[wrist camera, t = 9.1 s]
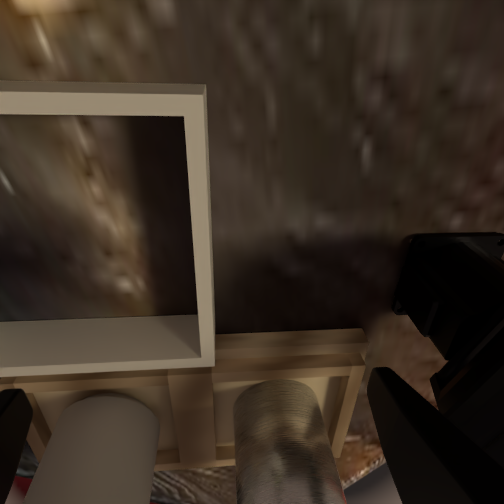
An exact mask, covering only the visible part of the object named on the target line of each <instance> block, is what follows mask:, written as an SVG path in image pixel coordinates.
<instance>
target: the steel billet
mask: <svg viewBox="0 0 504 504" xmlns="http://www.w3.org/2000/svg"><path fill="white" fill-rule="evenodd" d="M233 423H234V448H235V472H236V496H237V504H347V503H346V499H345V496H344V492H343V488H342V485H341V481H340V478H339V474H338V471H337V467H336V463H335V460H334V456H333V453H332V449H331V446H330V442H329V438H328V435H327V431H326V428H325V424H324V420H323V417H322V413H321V410H320V406H319V403H318V399H317V396H316V394H315V392H314V391H313V390H312V389H311V388H310V387H309V386H307V385H306V384H304V383H301V382H298V381H295V380H288V379H276V380H269V381H264V382H261V383H258V384H255V385H253V386H251V387H250V388H248V389H246V390H245V391H244V392H242V393H241V394H240V395H239V397H238V398H237V399H236V401H235V403H234V406H233Z"/></svg>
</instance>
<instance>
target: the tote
mask: <svg viewBox="0 0 504 504" xmlns="http://www.w3.org/2000/svg"><path fill="white" fill-rule="evenodd" d="M0 114H40V115H129V116H184V123H185V137H186V151H187V165H188V179H189V193H190V207H191V221H192V235H193V248H194V262H195V276H196V290H197V304H198V315H172V316H145V317H118V318H91V319H64V320H38V321H11V322H0V377H13V376H33V375H53V374H73V373H93V372H113V371H132V370H152V369H172V368H192V367H212V366H215V303H214V278H213V252H212V227H211V201H210V176H209V150H208V124H207V99H206V84H168V83H116V82H63V81H11V80H0Z"/></svg>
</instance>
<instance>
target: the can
mask: <svg viewBox="0 0 504 504" xmlns="http://www.w3.org/2000/svg"><path fill="white" fill-rule="evenodd" d="M159 435H160V424H159V420H158V418H157V417H156V416H155V414H154V413H153V412H152V411H151V410H150V409H149V408H148V407H147V406H146V405H145V404H144V403H142V402H141V401H139V400H138V399H136V398H133V397H130V396H127V395H124V394H116V393H104V394H96V395H93V396H90V397H87V398H85V399H84V400H81V401H78V402H75V403H73V404H72V405H70V406H69V407H67V408H66V409H64V411H63V412H62V414H61V415H60V417H59V419H58V421H57V423H56V426H55V428H54V430H53V433H52V435H51V438H50V440H49V442H48V445H47V447H46V449H45V452H44V454H43V457H42V459H41V461H40V464H39V466H38V468H37V471H36V473H35V475H34V478H33V480H32V483H31V485H30V487H29V490H28V492H27V494H26V497H25V499H24V502H23V504H149V502H150V495H151V489H152V482H153V475H154V468H155V462H156V455H157V448H158V441H159Z"/></svg>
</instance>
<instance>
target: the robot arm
mask: <svg viewBox="0 0 504 504" xmlns="http://www.w3.org/2000/svg"><path fill="white" fill-rule="evenodd" d="M420 241H422V243H420V244H418V243H419V242H420ZM498 241H499V242H498ZM503 253H504V234H503V233H474V234H421V235H417V236H415V237H414V238H413V239H412V241H411V244H410V247H409V251H408V254H407V257H406V261H405V264H404V266H403V267H402V270H401V274H400V277H399V280H398V284H397V287H396V290H395V294H394V296H395V297H394V300H393V304H392V310H393V312H394V313H395V314H396V315H408V316H409V317H410V319H411V320H412V322H413V323H414V324H415V326H416V327H417V329H418V330H419V332H420V333H421V334H422V335H423V336H424V337H429V338H430V339H431V341H432V342H433V343H434V345H435V346H436V347H437V349H438V350H439V352H440V353H441V354H442V356H443V357H444V359H445V360H449V361H448V362H447V363H446V364H445V365H444V366H443V367H442V369H441V370H440V371H439V372H438V373H435V374H434V375H433V376H432V377H431V378H430V382H431V386H432V389H433V393H434V396H435V399H436V403H437V406H438V409H439V411H438V410H437V409H436V408H435V407H434V406H433V405H431V404H430V403H429V402H428V401H427V400H426V399H425V398H423V397H422V396H421V395H420V394H419V393H418V392H417V391H416V390H414V389H413V388H412V387H411V386H410V385H409V384H408V383H406V382H405V381H404V380H403V379H402V378H401V377H400V376H398V375H397V374H396V373H395V372H394V371H393V370H392V369H390V368H388V367H376V368H373V369H372V372H371V375H370V378H369V382H368V385H367V396H368V399H369V403H370V407H371V410H372V414H373V418H374V421H375V425H376V429H377V432H378V436H379V440H380V443H381V447H382V450H383V454H384V456H385V459H386V462H387V465H388V467H389V470H390V472H391V475H392V478H393V480H394V483H395V485H396V488H397V491H398V493H399V496H400V498H401V501H402V504H504V261H503V260H502V259H501V257H502V255H503ZM400 307H401V308H400ZM398 308H399V309H398ZM32 418H33V408H32V405H31V403H30V401H29V399H28V397H27V395H26V393H25V391H24V390H23V389H21V388H14V389H5V390H2V391H1V392H0V504H5V501H6V499H7V496H8V494H9V491H10V489H11V486H12V484H13V481H14V478H15V475H16V472H17V468H18V465H19V462H20V458H21V455H22V452H23V448H24V445H25V442H26V438H27V435H28V431H29V428H30V425H31V421H32Z"/></svg>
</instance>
